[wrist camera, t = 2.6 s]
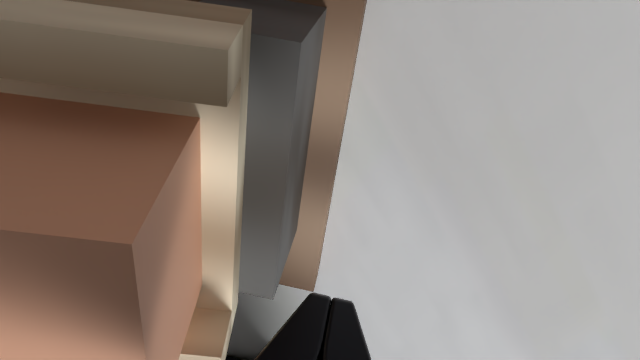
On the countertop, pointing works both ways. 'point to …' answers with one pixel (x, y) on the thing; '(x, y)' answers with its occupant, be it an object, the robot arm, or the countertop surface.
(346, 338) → the robot arm
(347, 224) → the countertop surface
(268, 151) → the stand
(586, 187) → the countertop surface
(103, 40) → the beam
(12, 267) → the rider
